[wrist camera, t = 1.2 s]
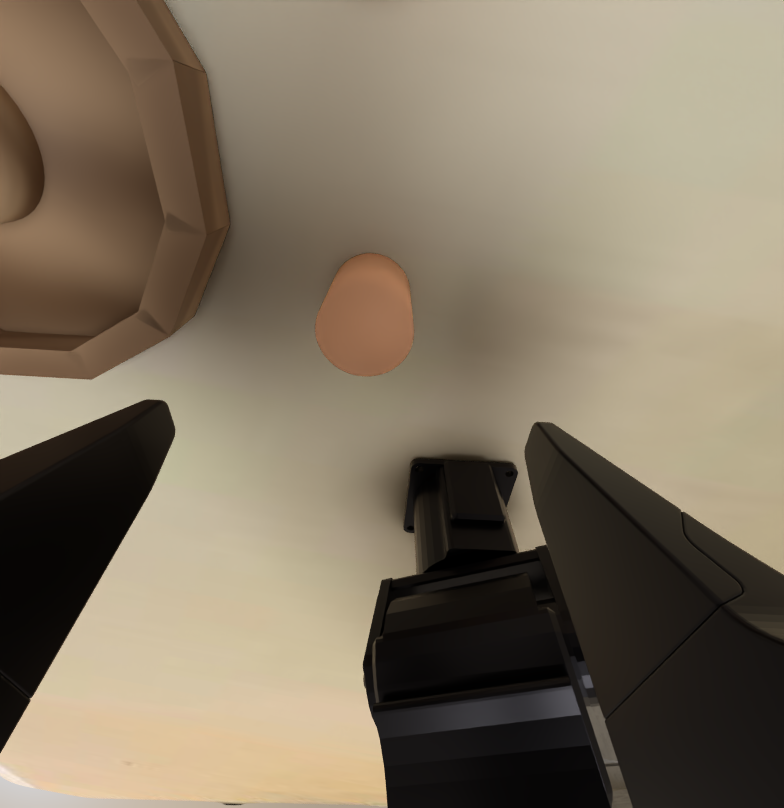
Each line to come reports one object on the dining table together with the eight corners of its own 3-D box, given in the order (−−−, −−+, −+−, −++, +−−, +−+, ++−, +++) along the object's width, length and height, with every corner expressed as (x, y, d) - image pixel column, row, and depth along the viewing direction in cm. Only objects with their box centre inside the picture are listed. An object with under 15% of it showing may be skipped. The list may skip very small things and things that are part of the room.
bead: (406, 332, 19) (409, 378, 15) (333, 328, 19) (317, 373, 15) (413, 256, 17) (419, 287, 13) (331, 250, 17) (312, 280, 13)
